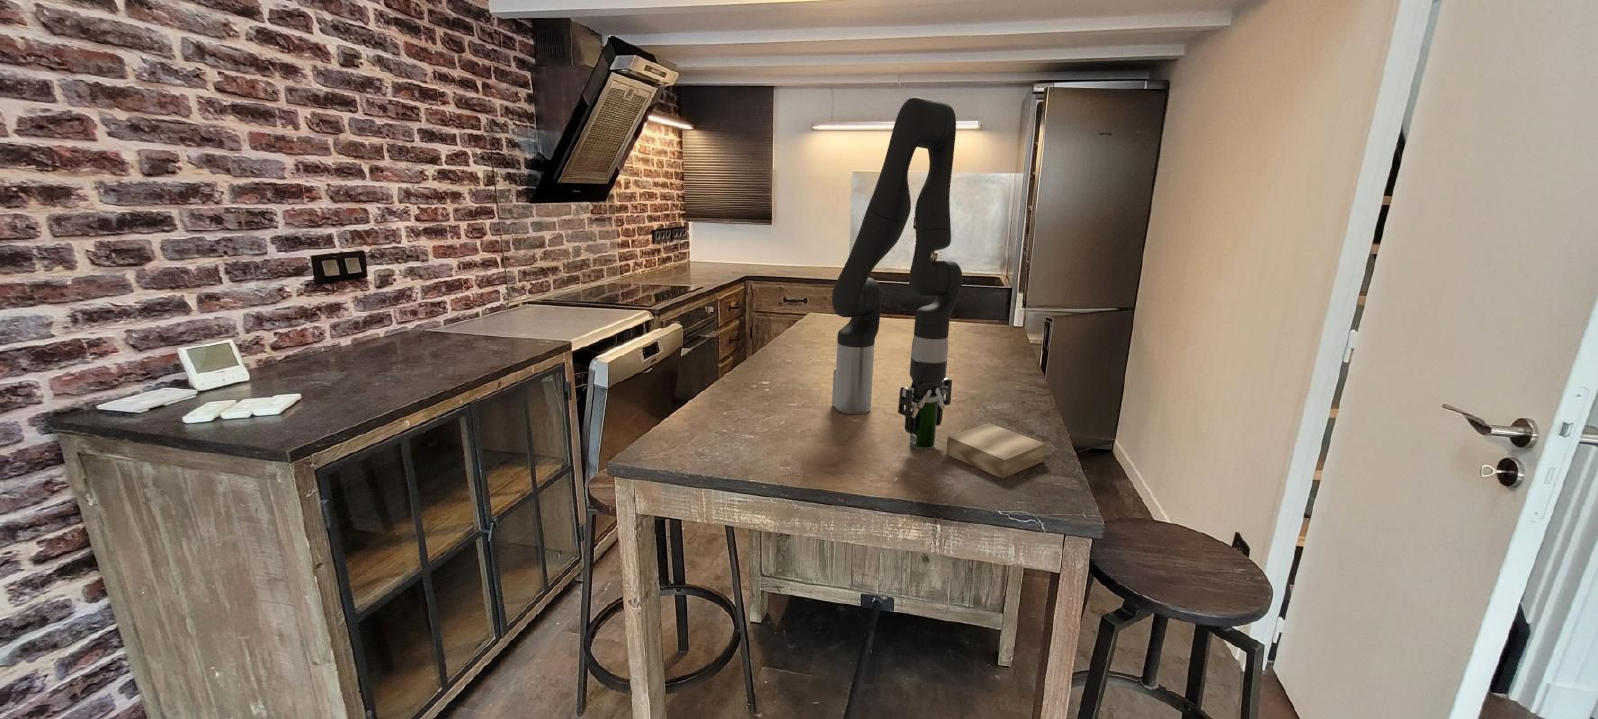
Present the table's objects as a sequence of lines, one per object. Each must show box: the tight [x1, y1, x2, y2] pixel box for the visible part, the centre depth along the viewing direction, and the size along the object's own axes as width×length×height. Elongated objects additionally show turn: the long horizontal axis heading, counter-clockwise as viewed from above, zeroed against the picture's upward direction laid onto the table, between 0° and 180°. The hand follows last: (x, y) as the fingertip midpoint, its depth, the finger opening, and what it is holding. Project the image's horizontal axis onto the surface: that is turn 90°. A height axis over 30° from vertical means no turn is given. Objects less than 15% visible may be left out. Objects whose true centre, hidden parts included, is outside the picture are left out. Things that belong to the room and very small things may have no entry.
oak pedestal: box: [945, 422, 1046, 479], centre depth 129 cm, size 14×14×4 cm
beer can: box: [909, 394, 938, 451], centre depth 133 cm, size 5×5×12 cm
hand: (923, 428), depth 133 cm, fingers open, 8 cm apart
